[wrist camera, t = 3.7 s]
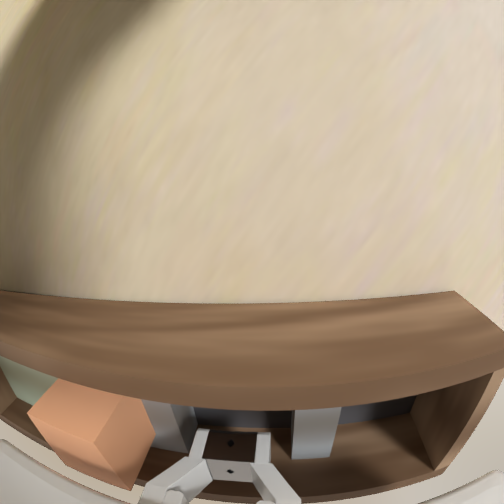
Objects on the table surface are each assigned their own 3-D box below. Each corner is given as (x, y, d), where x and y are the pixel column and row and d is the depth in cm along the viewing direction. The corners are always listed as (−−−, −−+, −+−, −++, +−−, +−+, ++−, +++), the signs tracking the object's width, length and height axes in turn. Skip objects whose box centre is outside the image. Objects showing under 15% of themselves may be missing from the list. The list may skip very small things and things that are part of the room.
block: (70, 366, 11) (26, 412, 7) (133, 379, 11) (93, 442, 7) (96, 418, 12) (65, 465, 8) (156, 434, 12) (130, 491, 8)
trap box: (-4, 289, 14) (-52, 317, 9) (454, 290, 11) (517, 344, 6) (34, 384, 17) (0, 419, 11) (415, 413, 14) (441, 474, 9)
